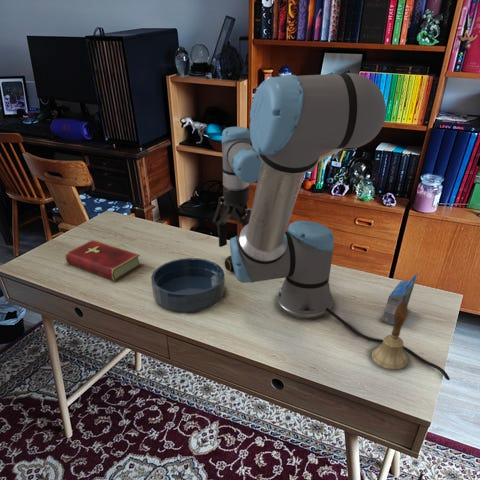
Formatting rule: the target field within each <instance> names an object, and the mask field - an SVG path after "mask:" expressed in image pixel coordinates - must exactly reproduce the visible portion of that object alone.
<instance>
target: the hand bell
mask: <svg viewBox="0 0 480 480" xmlns="http://www.w3.org/2000/svg"><path fill="white" fill-rule="evenodd" d="M408 312H409V311H408V306H407V302H406V301H401V303H400V304H399V306H398V307H397V309H396V311H395V314H394V325H393V328H392V332H391V334H389V335H386V336H384V337H383V339H382V340H383V342H382V343H381V344H380V346H378V347H376V348H374V350H372V351H371V359H372V361H373V362H374V363H375V364H376V365H378V366H379V367H381V368H384V369H387V370H393V371H394V370H395V371H396V370H401V369H404V368H405V367H406V366H407V365H408V361H409V359H408V356H407V355H406V354H405V351H404V350H403V346H404V340H403V339H402V338H401V337H400V335H401V329H402V326H403V325H404V323H405V321H406V320H407V318H408V317H407V316H408Z"/></svg>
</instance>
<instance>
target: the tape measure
mask: <svg viewBox="0 0 480 480" xmlns="http://www.w3.org/2000/svg"><path fill="white" fill-rule="evenodd" d="M224 267H225V269H226V270H227V271H228V272H231V273H235V271H234V267H233V263H232V258H231V255H228V256H227V257H226V258H225V260H224Z"/></svg>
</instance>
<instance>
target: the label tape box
mask: <svg viewBox="0 0 480 480" xmlns="http://www.w3.org/2000/svg"><path fill="white" fill-rule="evenodd" d="M417 275H418V272H417V271H416V273H414V275H413V276H412V278H411V279H410V280H400V281H399V282H398V283H397V285H396V287H395V288H394V289H393V290H392V291H391V293H390V294H388V298H387V302H386V305H385V309H384V313H383V317H382V322H384V323H386V324H389V325H391V326H394V314H395V311H396V309H397V307H398V306H399V304H400V303H401V301H406V302H407V307H408V306H409V303H410V299H411V296H412V293H413V289H414V287H415V283H416V281H417Z"/></svg>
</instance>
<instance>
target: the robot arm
mask: <svg viewBox="0 0 480 480" xmlns="http://www.w3.org/2000/svg"><path fill="white" fill-rule="evenodd" d="M386 115H387V104H386V99H385V97H384V94H383V92H382V90H381V89H380V87H379V86H378V85H377V84H376V83H375V82H374V81H373V80H371V79H369V78H368V77H366V76H364V75H362V74H358V73H354V72H342V73H327V74H310V75H309V74H307V75H296V74H292V73H291V74H290V73H289V74H284V75H282V76H281V75H280V76H272V77H269V78H267V79H265V80H263V81H262V82H261V83H260V84H259V85H258V87H257V88H256V90H255V92H254V95H253V99H252V102H251V107H250V111H249V118H250V122H249V128H247V127H243V126H229V127H226V128H224V129H223V130H222V134H221V150H222V185H223V188H222V193H223V194H222V195H223V196H220V197H218V201H217V202H218V204H217V205H216V206H217V207H216V209H215V212H214V215H213V218H212V223H214V224H216V227H217V235H218V247H219V248H222V247H225V246H227V245H228V227H227V222H228V220H229V219H231V218H233V219H235V220H237V221H238V223H239V224H240V225H241V226H242V228H241V231H240V233H239V236H237V235H235V236H234V237H231V238H229V251H230V256H231V258H232V263H233V267H234V271H235V272H234V275H235V277H236V280H237V281H238V282H239V283H241V284H246V283H247V284H248V283H252V284H253V283H257V282H264V281H271V280H277V279H278V280H279V279H284V280H283V283H282V285H281V287H280V286H278V291H279V292H278V294H277V306H278V309H279V310H280V311H281V312H282V313H284V314H285V315H287V316H289V317H291V318H295V319H299V320H316V319H320V318H323V317H325V316H327V315H328V314H330V315H331V316H333V317H334V318H335V319H336V320H338V321H339V322H340V323H341V324H343V325H344V326H346V327H347V328H348V329H349V330H350V331H351V332H353V333H354V334H355V335H357V336H358V337H360V338H363V339H365V340H367V341H371V342H375V343H381V344H382V342H383V340H384V339H380V338H375V337H370V336H368V335H365V334H363V333H362V332H359V331H358V330H357V329H355V328H354V327H353V326H352V325H351V324H350V323H348V322H346V321H345V320H344V319H342V317H340V316H339V315H338V314H337V313H336V312H334V311H332V309H333V303H334V298H333V295H332V292H331V288H330V287H331V286H330V276H331V268H332V259H333V253H334V250H335V245H334V244H335V235H334V232H333V231H332V230H331V229H330V228H329V227H327V226H325V225H324V224H321V223H318V222H315V221H311V220H295V221H293V222H291V223H290V224H289V222H290V220H291V217H292V213H293V211H294V207H295V204H296V202H297V198H298V195H299V192H300V191H301V190H300V189H301V187H302V184H303V181H304V178H305V176H306V173H311V172H313V171H314V170H316V168H317V166H318V163H319V162H321V161H324V160H325V159H327V158H329V157H332V156H334V155H335V154H337V153H339V152H341V151H343V150H344V151H351V150H352V151H353V150H356V149H358V148H360V147H362V146H365V145H366V144H368V143H370V142H372V141H373V140H374V139H375V138H376V137H377V135H379V133H380V132H381V130H382V128H383V126H384V124H385V120H386ZM253 183H256V187H255V192H254V197H253V201H252V205H251V208H250V207H248V202H249V200H250V196H251V195H250V193H251V191H250V189H251V188H250V187H249V186H250V184H253ZM403 351H404V352H407V353H408V354H409V355H411V356H412V357H414V358H415V359H416V360H418V361H420V362H421V363H423V364H425V365H426V366H429V367H431V368H434V369H436V370H437V371H439V372H440V373H441V374H442V375H443V377H444V378H445V380H446V381H450V379H451V378H450V376H449V375H448V373H447V372H446V371H445V370H444V369H443V368H442V367H440V366H439V365H437V364H436V363H433V362H430V361H428V360H426V359H424V358H423V357H421V356H420V355H419V354H417V353H415V352H414V351H412V350H411V349H410V348H408V347H406V346H404V345H403ZM423 477H424V474H423V473H422V472H420V473H419V476H418V478H417V480H423Z"/></svg>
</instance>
